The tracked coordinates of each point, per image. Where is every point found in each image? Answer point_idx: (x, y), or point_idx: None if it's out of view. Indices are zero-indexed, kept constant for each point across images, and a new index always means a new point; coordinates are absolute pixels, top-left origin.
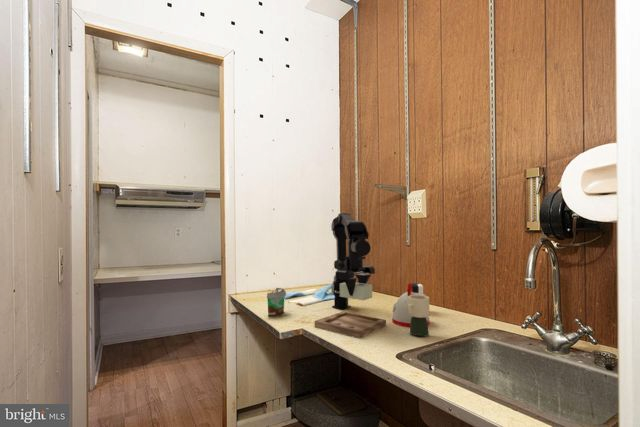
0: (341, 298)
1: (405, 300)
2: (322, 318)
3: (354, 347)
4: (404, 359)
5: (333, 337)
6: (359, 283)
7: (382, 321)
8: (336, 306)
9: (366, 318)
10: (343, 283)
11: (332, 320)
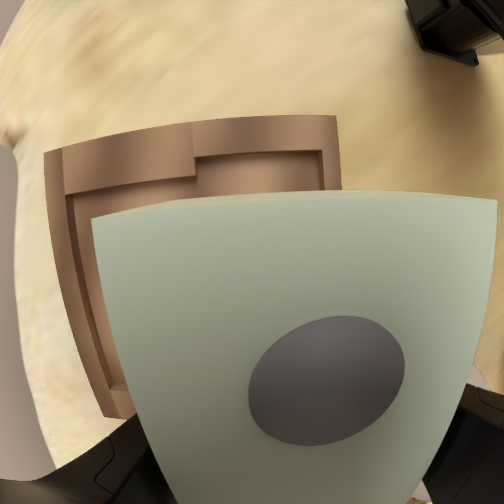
0: (457, 17)
1: (419, 489)
2: (98, 142)
3: (59, 418)
4: None
5: (43, 325)
6: (398, 471)
7: None
8: (412, 11)
9: None
10: (184, 291)
11: (148, 181)
